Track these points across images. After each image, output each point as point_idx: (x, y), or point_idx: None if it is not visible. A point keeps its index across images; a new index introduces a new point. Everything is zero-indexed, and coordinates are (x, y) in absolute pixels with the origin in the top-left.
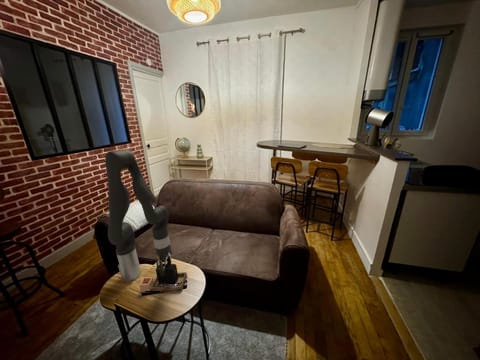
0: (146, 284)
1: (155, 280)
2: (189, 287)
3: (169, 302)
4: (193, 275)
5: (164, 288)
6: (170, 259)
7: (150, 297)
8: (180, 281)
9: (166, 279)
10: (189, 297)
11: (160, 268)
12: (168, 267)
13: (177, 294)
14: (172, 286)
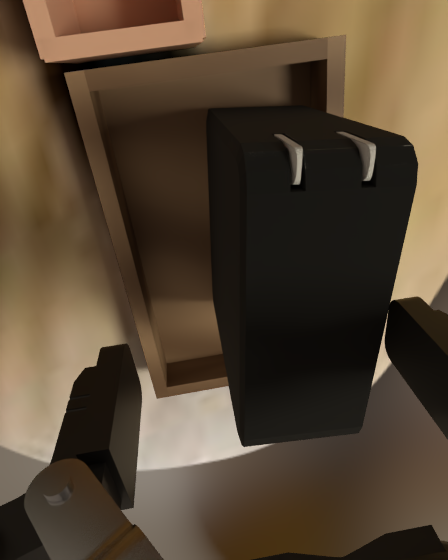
0: (30, 13)
1: (208, 73)
2: (201, 400)
3: (28, 330)
4: None
5: (118, 255)
6: (443, 426)
7: (10, 113)
8: None
9: (215, 246)
10: None
11: (43, 552)
12: (282, 388)
13: None
14: (150, 329)
